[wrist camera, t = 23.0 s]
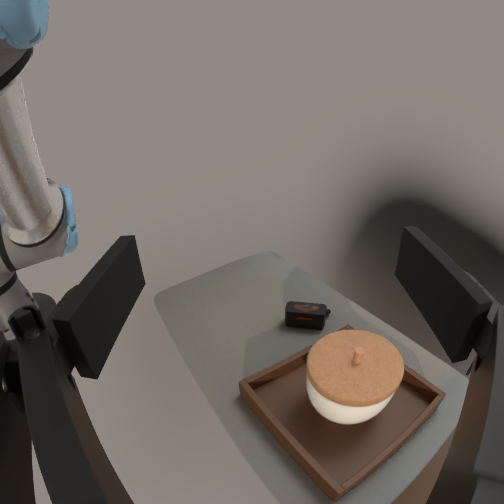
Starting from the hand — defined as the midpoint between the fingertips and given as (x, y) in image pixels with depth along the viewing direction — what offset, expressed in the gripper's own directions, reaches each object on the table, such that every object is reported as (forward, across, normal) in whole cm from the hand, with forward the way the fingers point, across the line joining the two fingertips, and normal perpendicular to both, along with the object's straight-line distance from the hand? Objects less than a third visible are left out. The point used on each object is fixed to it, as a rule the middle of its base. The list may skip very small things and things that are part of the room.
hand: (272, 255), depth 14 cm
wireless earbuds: (+26, +7, -26) cm, 37 cm away
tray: (+8, +9, -26) cm, 28 cm away
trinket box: (+8, +9, -25) cm, 28 cm away
